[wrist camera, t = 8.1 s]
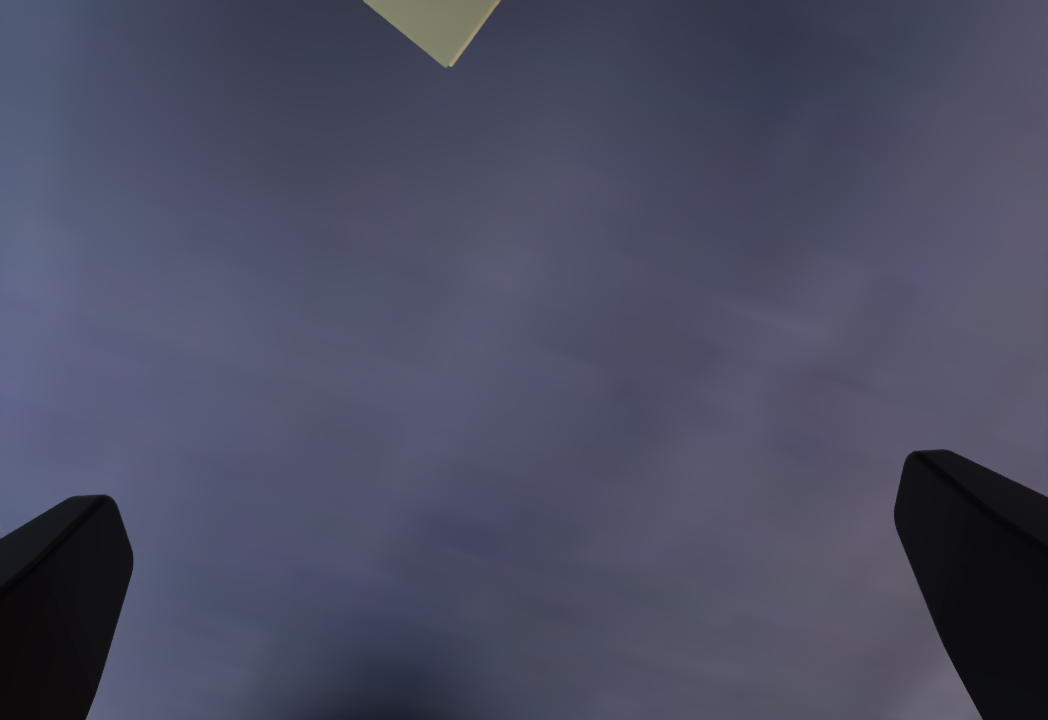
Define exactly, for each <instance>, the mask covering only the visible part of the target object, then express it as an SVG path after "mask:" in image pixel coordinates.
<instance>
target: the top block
mask: <svg viewBox="0 0 1048 720" xmlns="http://www.w3.org/2000/svg"><path fill="white" fill-rule="evenodd" d="M363 1H364V2H365V3H366V4H367V5H369V6H370V7H371V8H372V9H374V10H375V11H376V12H377V13H379V14H380V15H381V16H382V17H383V18H385V19H386V20H387V21H388V22H390V23H391V24H392V25H393V26H394V27H396V28H397V29H398V30H399V31H401V32H402V33H403V34H404V35H406V36H407V37H408V38H409V39H410V40H412V41H413V42H414V43H415V44H417V45H418V46H419V47H420V48H422V49H423V50H424V51H425V52H426V53H428V54H429V55H430V56H431V57H433V58H434V59H435V60H436V61H437V62H439V63H440V64H441V65H442V66H444V67H445V68H447V67H448V65H449V64H450V62H451V61H452V60H453V58H454V57H455V56H456V54H457V53H458V52H459V50H460V49H461V47H462V46H463V45H464V43H465V42H466V41H467V39H468V38H469V37H470V35H471V34H472V33H473V31H474V30H475V28H476V27H477V26H478V24H479V23H480V22H481V20H482V19H483V18H484V16H485V15H486V13H487V12H488V11H489V9H490V8H491V7H492V5H493V4H494V3H495V1H496V0H363Z"/></svg>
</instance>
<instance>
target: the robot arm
mask: <svg viewBox="0 0 1048 720" xmlns="http://www.w3.org/2000/svg"><path fill="white" fill-rule="evenodd" d="M894 521H895V526H896V529H897V532H898V535H899V537H900V540H901V542H902V545H903V547H904V550H905V552H906V555H907V557H908V560H909V562H910V565H911V567H912V570H913V572H914V575H915V577H916V580H917V582H918V585H919V587H920V590H921V592H922V595H923V597H924V600H925V602H926V605H927V607H928V609H929V612H930V614H931V617H932V619H933V622H934V624H935V627H936V629H937V631H938V634H939V636H940V638H941V641H942V643H943V645H944V647H945V649H946V651H947V653H948V655H949V657H950V659H951V661H952V663H953V665H954V667H955V669H956V671H957V672H958V674H959V676H960V678H961V680H962V682H963V684H964V685H965V687H966V689H967V691H968V693H969V695H970V697H971V699H972V700H973V702H974V704H975V706H976V708H977V710H978V712H979V713H980V715H981V717H982V719H983V720H1048V497H1046V496H1044V495H1042V494H1040V493H1038V492H1036V491H1034V490H1032V489H1030V488H1027V487H1025V486H1023V485H1021V484H1019V483H1017V482H1015V481H1013V480H1011V479H1009V478H1006V477H1004V476H1002V475H1000V474H998V473H996V472H994V471H992V470H990V469H988V468H985V467H983V466H981V465H979V464H977V463H975V462H973V461H971V460H969V459H967V458H965V457H962V456H960V455H958V454H956V453H954V452H952V451H949V450H944V449H940V450H922V451H913V452H912V453H910V454H909V455H908V456H907V458H906V460H905V462H904V466H903V471H902V475H901V480H900V484H899V489H898V493H897V498H896V503H895V508H894ZM132 571H133V552H132V548H131V545H130V542H129V539H128V536H127V533H126V530H125V527H124V524H123V521H122V518H121V515H120V512H119V509H118V506H117V504H116V502H115V501H114V499H113V498H112V497H110V496H108V495H104V494H103V495H84V496H73V497H70V498H68V499H66V500H64V501H63V502H61V503H59V504H58V505H56V506H54V507H53V508H51V509H49V510H48V511H46V512H44V513H43V514H41V515H39V516H38V517H36V518H34V519H33V520H31V521H29V522H28V523H26V524H24V525H23V526H21V527H19V528H18V529H16V530H14V531H13V532H11V533H9V534H8V535H6V536H4V537H3V538H1V539H0V720H86V717H87V715H88V712H89V710H90V707H91V705H92V702H93V700H94V697H95V694H96V691H97V688H98V685H99V682H100V679H101V676H102V673H103V670H104V666H105V663H106V660H107V656H108V653H109V649H110V646H111V643H112V639H113V636H114V632H115V629H116V626H117V622H118V619H119V616H120V612H121V609H122V605H123V602H124V599H125V595H126V592H127V588H128V585H129V582H130V578H131V575H132Z"/></svg>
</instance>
